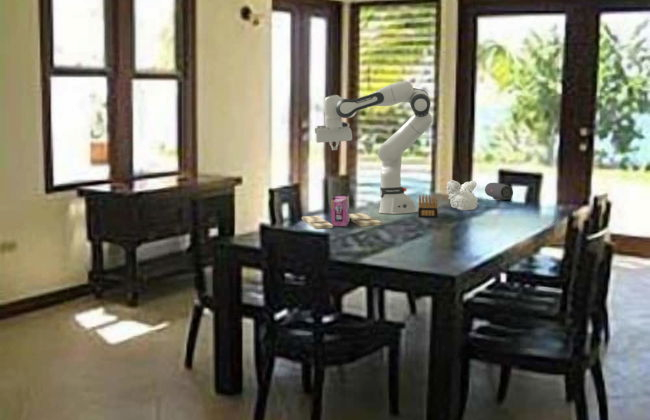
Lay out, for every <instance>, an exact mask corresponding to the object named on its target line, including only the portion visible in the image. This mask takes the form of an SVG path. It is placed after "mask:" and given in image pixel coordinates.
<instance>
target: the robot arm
mask: <svg viewBox="0 0 650 420" xmlns="http://www.w3.org/2000/svg"><path fill="white" fill-rule="evenodd" d="M404 102H405V103H409V105H410V108H411V110H412V111H413V114H412V115H411V116H410V117H409V119H408V120H407V121H406V122H404V124H402V125H401V126H400V128H399V129H397V131H395V132H394V133H393V134H392V135H391V136H390V137H389V138H387V140H385V141H384V142H383V143H382V144H381V145H380V146H379V148H378V150H377V156H378V159H379V160H380V161H381V168H380V188H379V197H380V204H379V210H378V213H380V214H389V215H390V214H393V215H399V214H401V215H402V214H410V213H418V208H417V207H416V204H415V200H414V199H413V198H411V197H410V196H408V195H407V194H406V193H405V192H407V191H408V190H407V188H406V187H403V186H401V185H402V182H401V179H402V178H401V173H402V172H401V169H402V154H403V153H404V152H405V151H406V150H408V149H409V148H410V147H411V146H412V145H413V144H414V143H416V141H417V140H418V139H419V138H421V136H422V135H423V134H424V133H425V132H426V131H427V130H428V129H429V128H430V126H431V125H432V123H433V116H432V115H431V113H430V108H431V103H432V102H431V98H430V95H429V93H428V92H427V91H426V90H424V89H420V88H415V87H414V86H413V84H412V83H410V82H409V81H406V80H405V81H399V82H395V83H391V84H388V85H386V86H383V87H381V88H379V89H377V90H376V91H374V92H372V93H370V94H368V95H365V96H361V97H357V98H353V99H348V98H344V97H341V96H340V95H338V94H332V95H328V96H326V97H325V98H324V99H323V113H324V124H323V125H317V126H316V127H315V128H314V134H315V142H316V143H317V144H318V143H329V145H330V147H331V151H337V150H338V146H339V145H340V142H349V141H352V140H353V133H352V132H353V131H352V129H351V128H350V125H351V124H350V123H349V122H345V121H342V119H341V118H343V119H348V118H349V119H350V118H353V117H354V116H355V115H356V114H357V112H358V111H361V110H364V109H367V108H372V107H389V106H394V105H398V104H401V103H404ZM333 142H335V146H333Z"/></svg>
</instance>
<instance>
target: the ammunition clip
mask: <svg viewBox="0 0 650 420" xmlns="http://www.w3.org/2000/svg"><path fill="white" fill-rule="evenodd" d="M438 202H439V201H438V196H437V195H435V196H434V195H433V194H432V195H430V194H429V195H427V194H426V195H425V196H424V194H422V196H421V194H419V195H418V208H417V209H418V212H417V214H418V216H417V217H418V218H420V219H421V218H424V219H425V218H427V219H429V218H430V219H432V218H433V219H434V218H435V219H437V218H439V203H438Z"/></svg>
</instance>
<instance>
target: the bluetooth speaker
mask: <svg viewBox="0 0 650 420" xmlns="http://www.w3.org/2000/svg"><path fill="white" fill-rule="evenodd" d="M484 193H485V194H486V195H487V196H489V197H491V198H492V199H493V200H496V201H505V200H509V199H511V198H513V195H514V191H513V188H512V187H511V186H510V185H507V184H504V183H500V182H489V183H487V184H486V186H485V187H484Z"/></svg>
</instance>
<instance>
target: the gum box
mask: <svg viewBox="0 0 650 420" xmlns="http://www.w3.org/2000/svg"><path fill="white" fill-rule="evenodd" d="M330 202H331V204H330V205H331V206H330V208H331V209H330V210H331V224H332V225H333V227H347V226H348V224H349V222H351V221H350V216H349V214H350V195H349V194H342V195H341V194H339V195H338V194H337V195H334V196H333V197H332V198H331V200H330Z"/></svg>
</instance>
